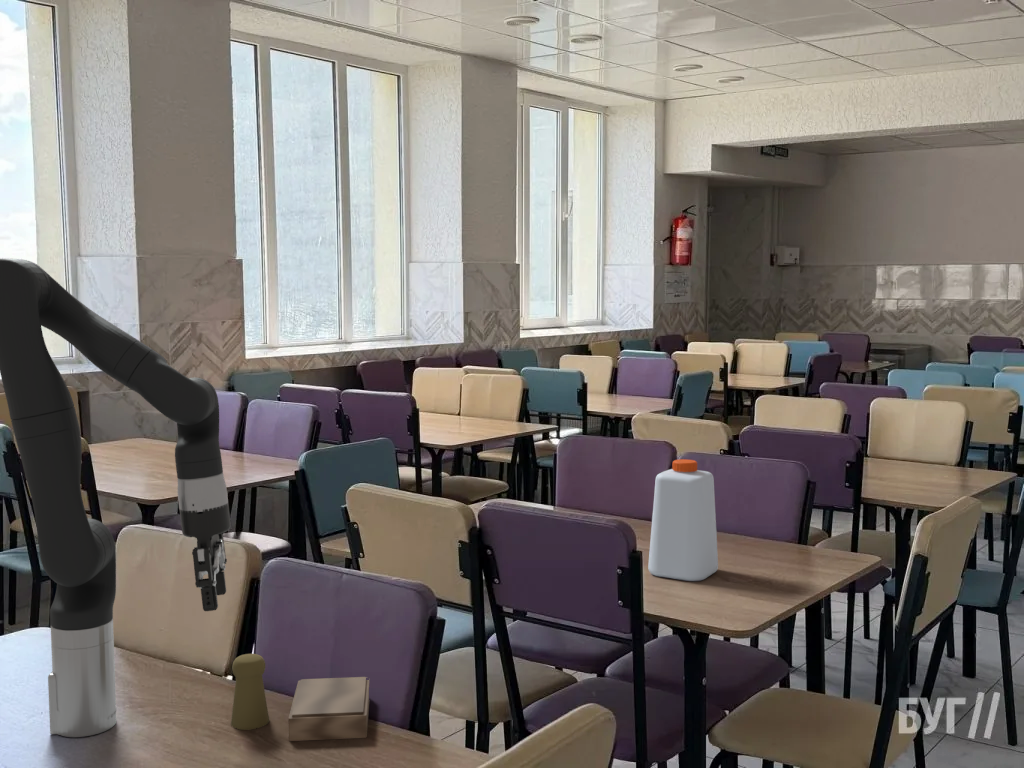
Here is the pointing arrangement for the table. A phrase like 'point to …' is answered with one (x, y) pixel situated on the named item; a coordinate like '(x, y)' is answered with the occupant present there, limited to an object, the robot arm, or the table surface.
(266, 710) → the cork
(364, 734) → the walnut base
